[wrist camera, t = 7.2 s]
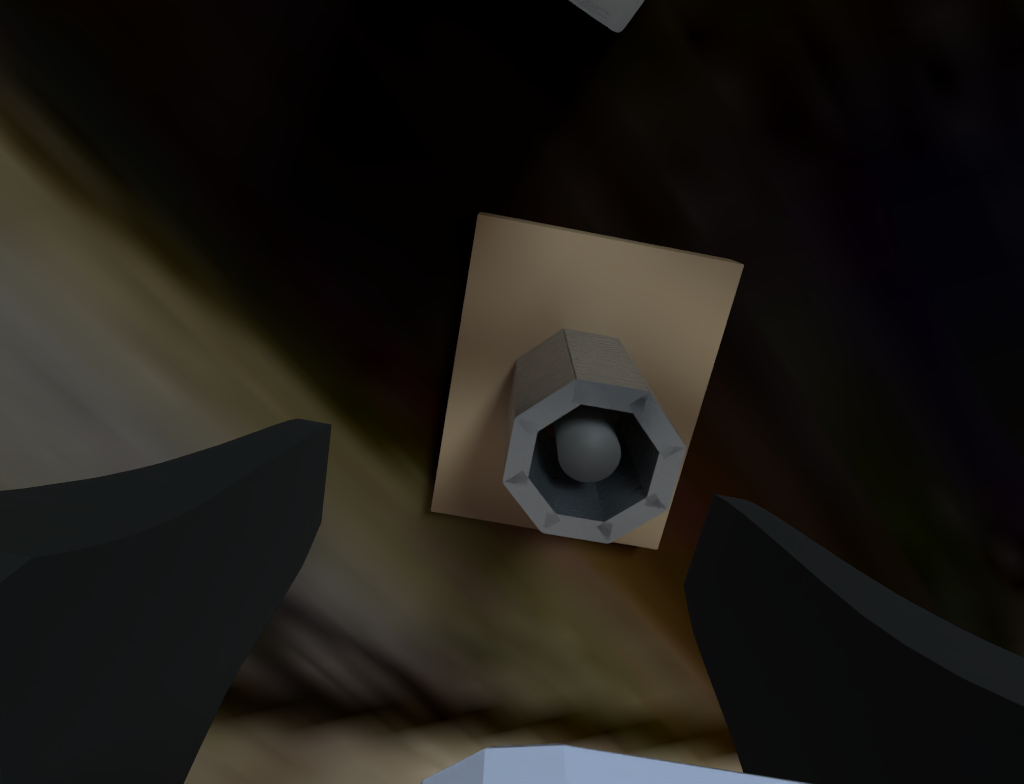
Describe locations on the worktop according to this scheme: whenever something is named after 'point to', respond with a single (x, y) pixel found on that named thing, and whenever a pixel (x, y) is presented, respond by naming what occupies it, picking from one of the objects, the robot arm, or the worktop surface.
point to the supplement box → (610, 11)
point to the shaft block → (582, 307)
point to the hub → (640, 428)
